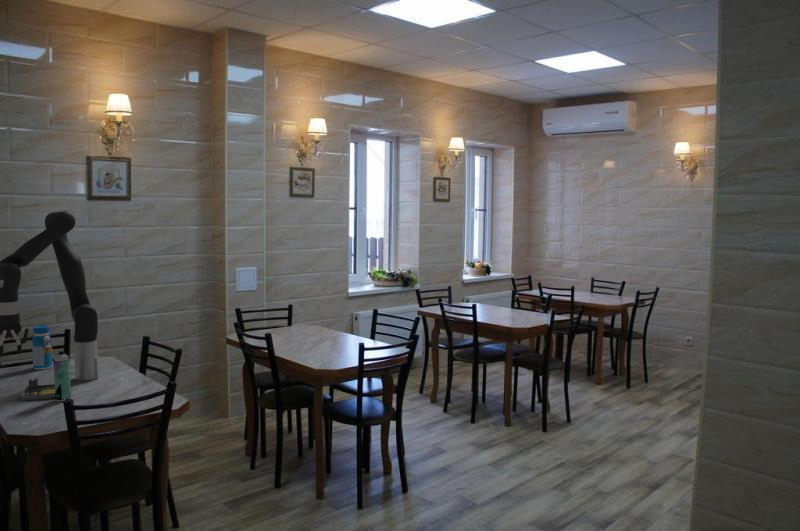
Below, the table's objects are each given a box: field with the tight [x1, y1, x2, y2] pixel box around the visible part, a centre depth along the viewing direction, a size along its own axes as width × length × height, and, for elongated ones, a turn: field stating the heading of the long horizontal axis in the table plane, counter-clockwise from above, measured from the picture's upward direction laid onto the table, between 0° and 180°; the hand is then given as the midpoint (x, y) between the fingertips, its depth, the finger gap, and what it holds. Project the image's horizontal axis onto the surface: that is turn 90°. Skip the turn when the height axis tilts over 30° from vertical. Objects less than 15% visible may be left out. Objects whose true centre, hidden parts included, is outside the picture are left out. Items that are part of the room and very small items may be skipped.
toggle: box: [28, 378, 39, 389], centre depth 260 cm, size 3×3×4 cm
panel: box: [21, 383, 55, 402], centre depth 259 cm, size 15×12×3 cm
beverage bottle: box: [31, 324, 54, 371], centre depth 302 cm, size 8×8×20 cm
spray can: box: [53, 349, 72, 403], centre depth 253 cm, size 6×6×20 cm
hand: (10, 354), depth 256 cm, fingers open, 5 cm apart
